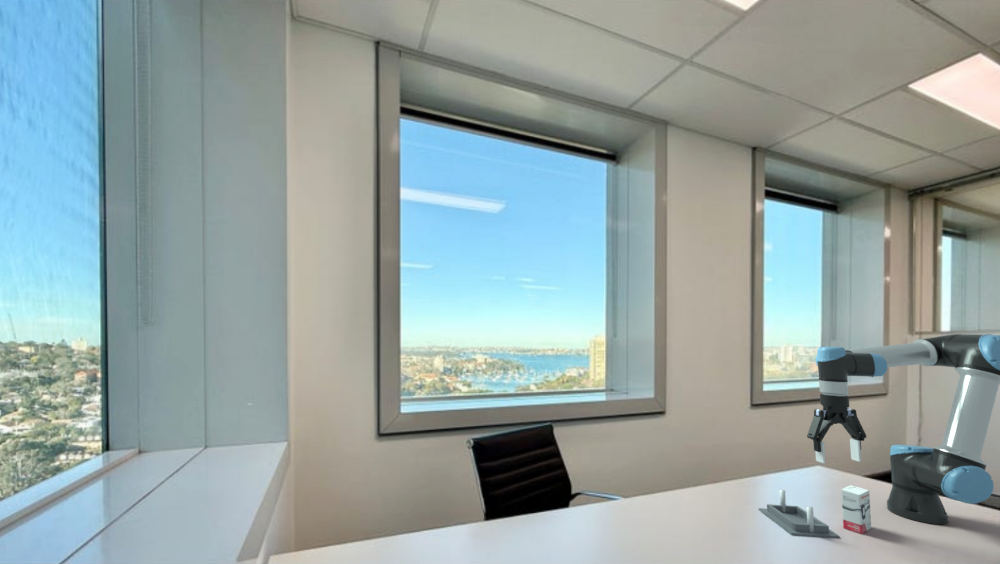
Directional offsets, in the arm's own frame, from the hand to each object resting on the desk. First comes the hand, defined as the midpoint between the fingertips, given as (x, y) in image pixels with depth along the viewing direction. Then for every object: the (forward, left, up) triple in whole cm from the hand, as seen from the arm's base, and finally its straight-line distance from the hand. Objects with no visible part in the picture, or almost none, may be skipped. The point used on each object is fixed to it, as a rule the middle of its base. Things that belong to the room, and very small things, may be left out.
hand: (838, 461), depth 138 cm
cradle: (+13, -1, -20) cm, 24 cm away
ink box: (-5, 0, -20) cm, 21 cm away
